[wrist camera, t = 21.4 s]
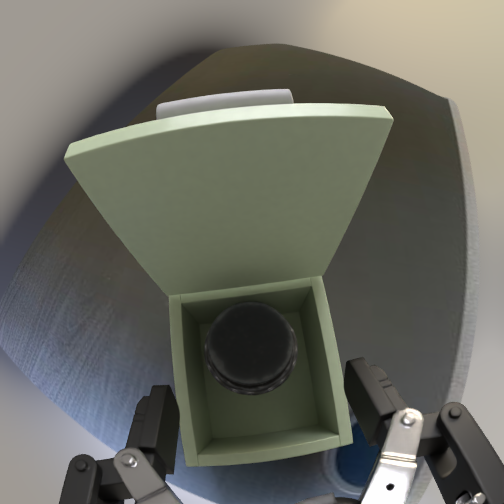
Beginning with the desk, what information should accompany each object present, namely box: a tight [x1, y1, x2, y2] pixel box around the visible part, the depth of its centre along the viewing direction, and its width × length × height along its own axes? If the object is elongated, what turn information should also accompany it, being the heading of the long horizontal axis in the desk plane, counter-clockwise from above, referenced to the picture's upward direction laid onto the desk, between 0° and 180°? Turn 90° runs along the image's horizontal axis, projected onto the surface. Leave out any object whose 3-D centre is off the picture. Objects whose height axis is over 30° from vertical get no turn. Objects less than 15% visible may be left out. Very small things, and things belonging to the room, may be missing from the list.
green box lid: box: [64, 89, 394, 296], centre depth 15 cm, size 14×11×5 cm
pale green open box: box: [169, 276, 353, 466], centre depth 21 cm, size 13×11×8 cm
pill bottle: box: [204, 302, 298, 395], centre depth 20 cm, size 6×6×11 cm
